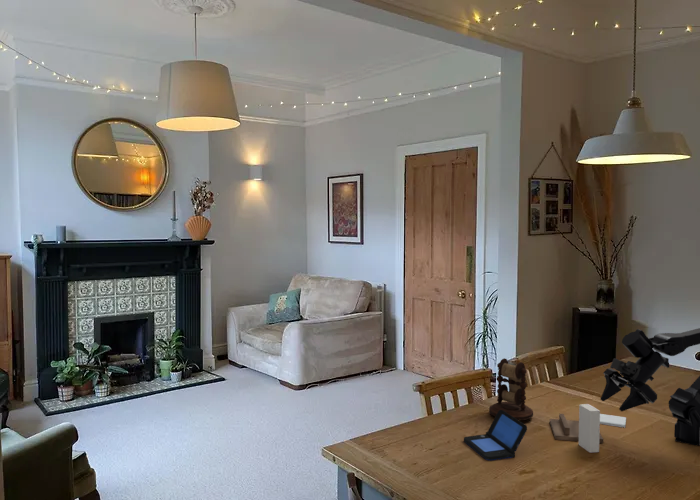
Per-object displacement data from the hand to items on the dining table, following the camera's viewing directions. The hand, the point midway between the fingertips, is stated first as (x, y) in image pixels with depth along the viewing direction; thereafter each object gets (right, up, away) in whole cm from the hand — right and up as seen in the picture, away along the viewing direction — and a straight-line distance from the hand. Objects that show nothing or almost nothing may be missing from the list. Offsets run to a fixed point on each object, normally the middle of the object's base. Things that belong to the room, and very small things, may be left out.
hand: (610, 405), depth 172 cm
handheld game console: (-35, -13, 0) cm, 38 cm away
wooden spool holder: (-23, -12, +27) cm, 37 cm away
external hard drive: (+9, -12, +23) cm, 27 cm away
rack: (-6, -12, +12) cm, 18 cm away
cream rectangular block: (-7, -13, 0) cm, 15 cm away
